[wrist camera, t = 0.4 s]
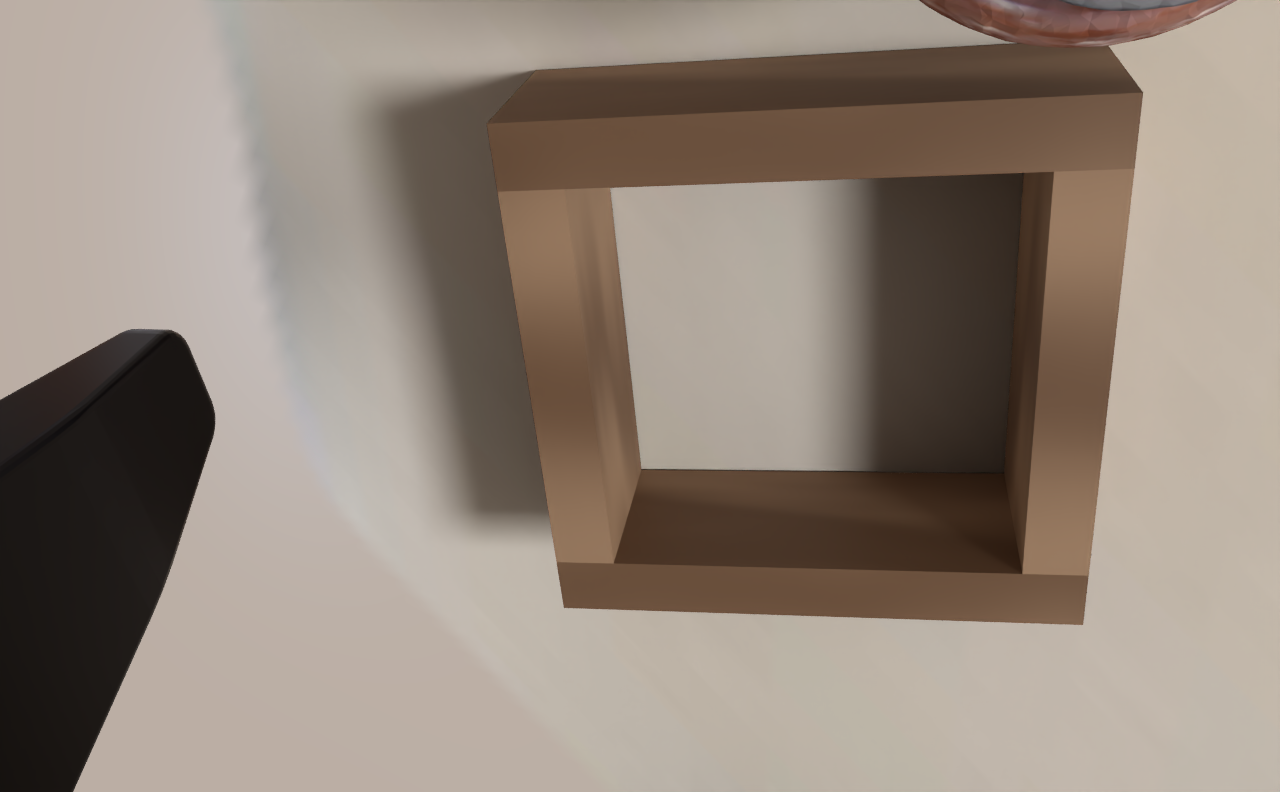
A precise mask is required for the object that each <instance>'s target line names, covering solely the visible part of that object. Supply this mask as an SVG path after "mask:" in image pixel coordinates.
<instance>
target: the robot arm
mask: <svg viewBox="0 0 1280 792" xmlns="http://www.w3.org/2000/svg"><path fill="white" fill-rule="evenodd" d="M214 430H215V412H214V407H213V404H212V401H211V398H210V396H209V394H208V391H207V389H206V386H205V384H204V382H203V380H202V377H201V375H200V372H199V370H198V367H197V365H196V363H195V360H194V358H193V355H192V353H191V351H190V348H189V346H188V344H187V342H186V340H185V339H184V338H183V337H182V336H181V335H180V334H178V333H176V332H174V331H172V330H152V329H132V330H128V331H125V332H122V333H120V334H118V335H116V336H115V337H113V338H111V339H110V340H107V341H106V342H104V343H102V344H100V345H98V346H97V347H95V348H93V349H91V350H89V351H88V352H86V353H84V354H82V355H80V356H79V357H77V358H75V359H73V360H71V361H70V362H68V363H66V364H65V365H62V366H61V367H59V368H57V369H55V370H54V371H52V372H50V373H48V374H46V375H44V376H43V377H41V378H39V379H37V380H35V381H34V382H32V383H30V384H28V385H26V386H24V387H23V388H21V389H19V390H17V391H16V392H14V393H12V394H10V395H8V396H6V397H5V398H3V399H1V400H0V792H73V791H74V789H75V786H76V784H77V782H78V780H79V777H80V775H81V773H82V771H83V768H84V766H85V764H86V762H87V759H88V757H89V755H90V753H91V750H92V748H93V746H94V744H95V742H96V739H97V737H98V735H99V733H100V730H101V728H102V726H103V724H104V722H105V719H106V717H107V715H108V713H109V711H110V708H111V706H112V704H113V702H114V699H115V697H116V695H117V693H118V691H119V688H120V686H121V684H122V681H123V679H124V677H125V675H126V673H127V671H128V668H129V666H130V664H131V662H132V659H133V657H134V655H135V652H136V650H137V648H138V646H139V644H140V642H141V639H142V637H143V635H144V633H145V630H146V628H147V626H148V624H149V622H150V619H151V617H152V615H153V612H154V610H155V608H156V605H157V603H158V600H159V598H160V595H161V593H162V591H163V588H164V585H165V583H166V580H167V577H168V574H169V572H170V569H171V566H172V563H173V560H174V557H175V554H176V551H177V548H178V545H179V542H180V538H181V535H182V532H183V529H184V526H185V523H186V520H187V517H188V514H189V510H190V507H191V504H192V501H193V498H194V495H195V492H196V489H197V486H198V482H199V479H200V476H201V473H202V470H203V467H204V464H205V461H206V457H207V454H208V451H209V448H210V445H211V442H212V439H213V435H214Z"/></svg>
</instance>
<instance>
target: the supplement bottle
mask: <svg viewBox="0 0 1280 792" xmlns="http://www.w3.org/2000/svg"><path fill="white" fill-rule="evenodd" d="M920 1H921V2H922V3H924V4H925V5H926V6H928V7H929V8H931V9H933V10H934V11H936V12H938V13H940V14H941V15H943V16H945V17H947V18H949V19H951V20H953V21H955V22H957V23H959V24H961V25H963V26H965V27H967V28H970V29H973V30H975V31H978V32H981V33H983V34H986V35H989V36H992V37H995V38H998V39H1001V40H1004V41H1009V42H1015V43H1021V44H1026V45H1032V46H1041V47H1059V48H1081V47H1104V46H1109V45H1114V44H1119V43H1125V42H1130V41H1135V40H1139V39H1144V38H1149V37H1153V36H1156V35H1159V34H1162V33H1165V32H1167V31H1170V30H1173V29H1176V28H1179V27H1182V26H1184V25H1187V24H1190V23H1192V22H1194V21H1196V20H1198V19H1200V18H1202V17H1204V16H1207V15H1209V14H1211V13H1213V12H1215V11H1217V10H1219V9H1221V8H1223V7H1225V6H1227V5H1229V4H1231V3H1232V2H1234V1H1236V0H920Z"/></svg>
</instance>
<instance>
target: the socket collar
mask: <svg viewBox="0 0 1280 792" xmlns="http://www.w3.org/2000/svg"><path fill="white" fill-rule="evenodd" d="M1142 97H1143V92H1142V91H1141V89H1140V88H1139V87H1138V85H1137V84H1136V82H1135V81H1134V80H1133V78H1132V77H1131V76H1130V74H1129V73H1128V72H1127V70H1126V69H1125V68H1124V66H1123V65H1122V64H1121V62H1120V61H1119V60H1118V58H1117V57H1116V56H1115V54H1114V53H1113V52H1112V50H1111V49H1110V47H1109V46H1104V47H1081V48H1059V47H1041V46H1032V45H1026V44H1021V43H1019V44H1001V45H983V46H965V47H947V48H929V49H911V50H893V51H875V52H857V53H839V54H821V55H803V56H785V57H767V58H749V59H731V60H714V61H696V62H678V63H660V64H642V65H624V66H606V67H588V68H570V69H552V70H536V71H535V72H534V73H533V74H532V75H531V76H530V77H529V79H528V80H527V81H526V82H525V83H524V84H523V85H522V86H521V87H520V88H519V89H518V90H517V91H516V92H515V94H514V95H513V96H512V97H511V98H510V99H509V100H508V101H507V102H506V103H505V104H504V105H503V106H502V108H501V109H500V110H499V111H498V112H497V113H496V114H495V115H494V116H493V117H492V118H491V119H490V120H489V122H488V123H487V130H488V136H489V142H490V149H491V155H492V161H493V167H494V174H495V180H496V186H497V192H498V199H499V205H500V211H501V217H502V224H503V230H504V236H505V242H506V249H507V255H508V261H509V267H510V274H511V280H512V286H513V292H514V299H515V305H516V311H517V317H518V324H519V330H520V336H521V342H522V349H523V355H524V361H525V367H526V374H527V380H528V386H529V392H530V399H531V405H532V411H533V417H534V424H535V430H536V436H537V442H538V449H539V455H540V461H541V467H542V473H543V480H544V486H545V492H546V498H547V505H548V511H549V517H550V523H551V530H552V536H553V542H554V548H555V555H556V561H557V567H558V573H559V580H560V586H561V592H562V598H563V605H564V608H587V609H618V610H648V611H678V612H709V613H739V614H769V615H800V616H830V617H860V618H891V619H921V620H951V621H982V622H1012V623H1042V624H1073V625H1083V620H1084V611H1085V602H1086V593H1087V585H1088V576H1089V567H1090V558H1091V549H1092V540H1093V531H1094V523H1095V514H1096V505H1097V496H1098V487H1099V478H1100V469H1101V461H1102V452H1103V443H1104V434H1105V425H1106V416H1107V407H1108V399H1109V390H1110V381H1111V372H1112V363H1113V354H1114V345H1115V337H1116V328H1117V319H1118V310H1119V301H1120V292H1121V283H1122V275H1123V266H1124V257H1125V248H1126V239H1127V230H1128V221H1129V213H1130V204H1131V195H1132V186H1133V177H1134V168H1135V159H1136V151H1137V142H1138V133H1139V124H1140V115H1141V106H1142ZM1005 173H1024V176H1023V191H1022V206H1021V221H1020V237H1019V252H1018V267H1017V282H1016V297H1015V312H1014V328H1013V343H1012V358H1011V373H1010V388H1009V404H1008V419H1007V434H1006V449H1005V464H1004V474H994V473H895V472H797V471H699V470H641V462H640V453H639V444H638V435H637V426H636V417H635V408H634V399H633V390H632V381H631V372H630V363H629V354H628V345H627V337H626V328H625V319H624V310H623V301H622V292H621V283H620V274H619V265H618V256H617V247H616V238H615V229H614V220H613V211H612V202H611V193H610V188H615V187H642V186H670V185H698V184H726V183H754V182H782V181H810V180H837V179H865V178H893V177H921V176H949V175H977V174H1005Z"/></svg>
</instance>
